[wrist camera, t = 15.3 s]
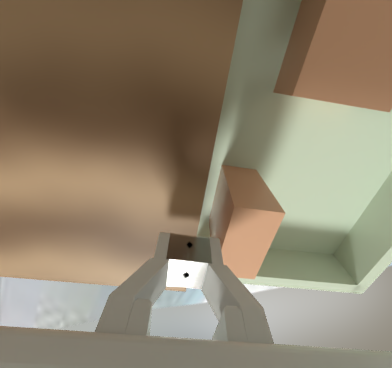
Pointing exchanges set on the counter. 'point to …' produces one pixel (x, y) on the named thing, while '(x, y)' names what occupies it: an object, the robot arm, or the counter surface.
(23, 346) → the robot arm
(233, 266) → the tile
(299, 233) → the tray
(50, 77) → the board
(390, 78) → the tile
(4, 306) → the counter surface
